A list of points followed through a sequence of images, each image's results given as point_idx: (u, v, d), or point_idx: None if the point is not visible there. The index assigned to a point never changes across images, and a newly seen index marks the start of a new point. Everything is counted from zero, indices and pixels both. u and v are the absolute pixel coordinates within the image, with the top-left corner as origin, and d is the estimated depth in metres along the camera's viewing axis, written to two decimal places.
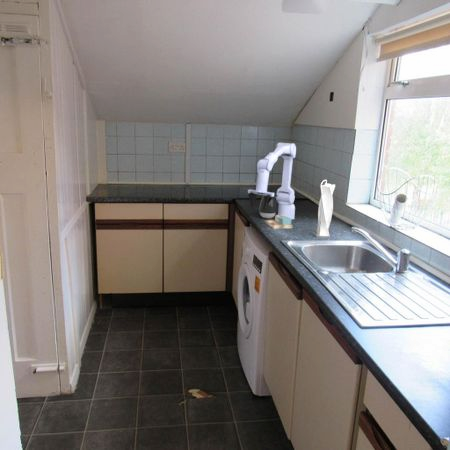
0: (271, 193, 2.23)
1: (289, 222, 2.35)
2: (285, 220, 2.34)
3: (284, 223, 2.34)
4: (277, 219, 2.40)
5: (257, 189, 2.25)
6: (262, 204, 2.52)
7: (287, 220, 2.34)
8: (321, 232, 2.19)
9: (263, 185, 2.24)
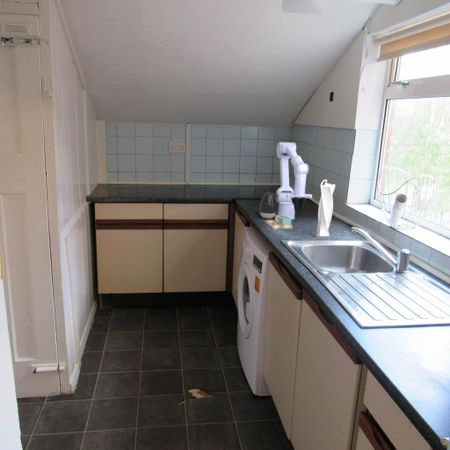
0: (311, 195, 2.35)
1: (289, 222, 2.35)
2: (285, 220, 2.34)
3: (284, 223, 2.34)
4: (277, 219, 2.40)
5: (300, 194, 2.31)
6: (262, 204, 2.52)
7: (287, 220, 2.34)
8: (321, 232, 2.19)
9: (304, 189, 2.32)
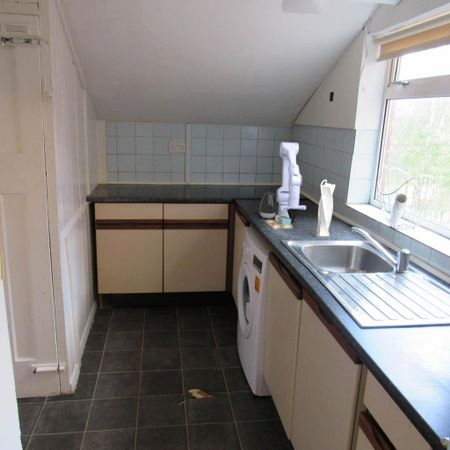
0: (305, 207, 2.36)
1: (288, 222, 2.34)
2: (284, 220, 2.33)
3: (283, 223, 2.34)
4: (277, 219, 2.40)
5: (293, 205, 2.32)
6: (262, 204, 2.52)
7: (286, 220, 2.34)
8: (321, 232, 2.19)
9: (298, 201, 2.32)
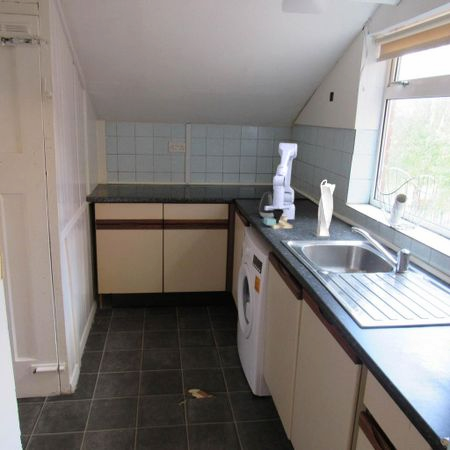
0: (290, 207, 2.33)
1: (273, 222, 2.32)
2: (269, 220, 2.31)
3: (268, 223, 2.31)
4: None
5: (278, 206, 2.29)
6: (262, 204, 2.52)
7: (271, 220, 2.31)
8: (321, 232, 2.19)
9: (283, 201, 2.30)
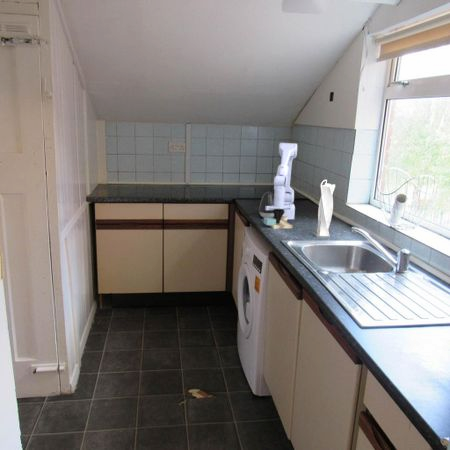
0: (290, 207, 2.33)
1: (273, 222, 2.32)
2: (269, 220, 2.31)
3: (268, 223, 2.31)
4: None
5: (279, 206, 2.29)
6: (262, 204, 2.52)
7: (271, 220, 2.31)
8: (321, 232, 2.19)
9: (284, 201, 2.30)
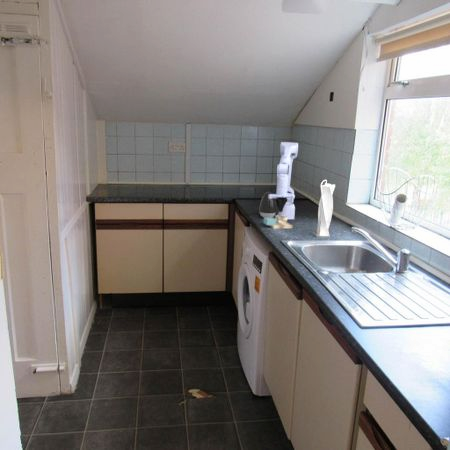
0: (293, 195, 2.33)
1: (273, 222, 2.32)
2: (269, 220, 2.31)
3: (268, 223, 2.31)
4: (277, 219, 2.40)
5: (282, 194, 2.29)
6: (262, 204, 2.52)
7: (271, 220, 2.31)
8: (321, 232, 2.19)
9: (287, 189, 2.29)
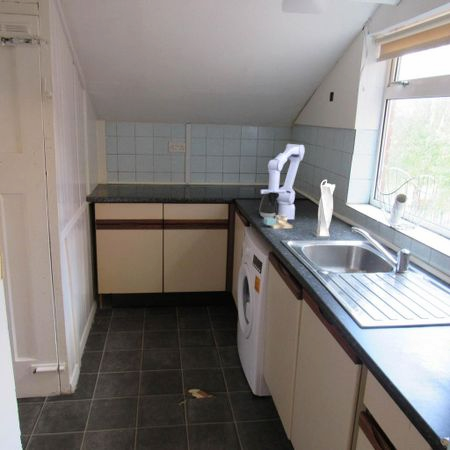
0: (285, 191, 2.40)
1: (273, 222, 2.32)
2: (269, 220, 2.31)
3: (268, 223, 2.31)
4: (277, 219, 2.40)
5: (274, 189, 2.36)
6: (262, 204, 2.52)
7: (271, 220, 2.31)
8: (321, 232, 2.19)
9: (278, 185, 2.37)
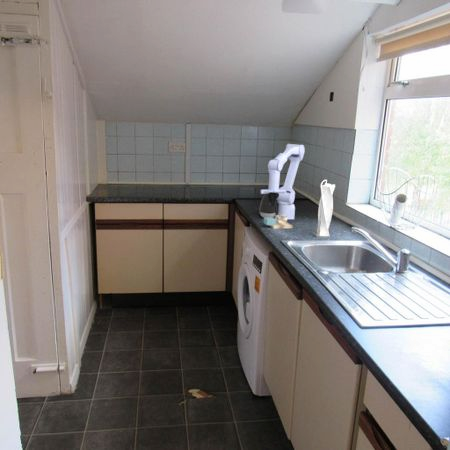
0: (285, 191, 2.40)
1: (273, 222, 2.32)
2: (269, 220, 2.31)
3: (268, 223, 2.31)
4: (277, 219, 2.40)
5: (274, 189, 2.36)
6: (262, 204, 2.52)
7: (271, 220, 2.31)
8: (321, 232, 2.19)
9: (278, 185, 2.37)
